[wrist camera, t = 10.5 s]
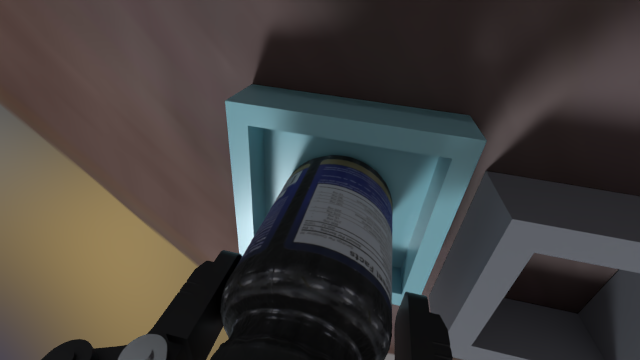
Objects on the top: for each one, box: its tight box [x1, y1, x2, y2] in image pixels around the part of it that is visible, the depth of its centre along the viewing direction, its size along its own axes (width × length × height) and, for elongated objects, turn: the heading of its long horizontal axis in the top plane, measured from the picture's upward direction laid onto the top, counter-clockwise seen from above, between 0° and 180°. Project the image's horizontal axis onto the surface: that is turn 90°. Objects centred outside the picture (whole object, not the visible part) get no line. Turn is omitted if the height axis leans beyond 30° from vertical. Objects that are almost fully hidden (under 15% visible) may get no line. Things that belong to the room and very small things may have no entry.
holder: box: [429, 171, 640, 360], centre depth 16 cm, size 10×10×4 cm
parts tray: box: [225, 84, 487, 305], centre depth 16 cm, size 11×11×3 cm
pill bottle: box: [210, 155, 393, 360], centre depth 12 cm, size 6×6×11 cm
